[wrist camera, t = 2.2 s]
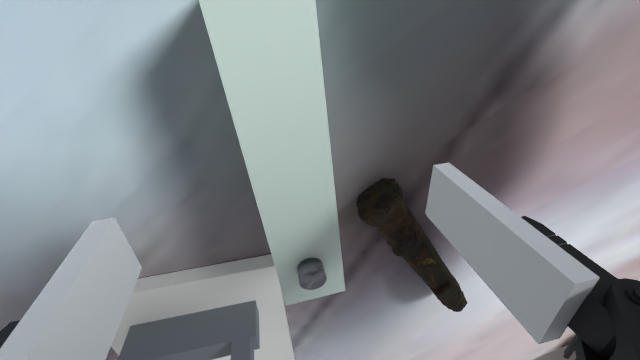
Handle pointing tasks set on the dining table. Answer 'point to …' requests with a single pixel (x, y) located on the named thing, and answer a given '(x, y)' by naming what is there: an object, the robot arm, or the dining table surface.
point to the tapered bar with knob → (282, 133)
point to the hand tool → (409, 239)
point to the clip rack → (207, 315)
